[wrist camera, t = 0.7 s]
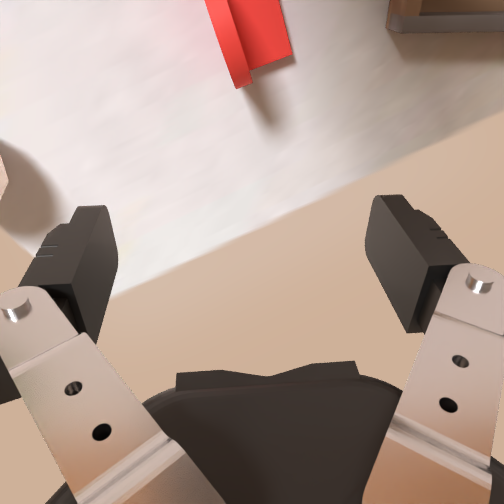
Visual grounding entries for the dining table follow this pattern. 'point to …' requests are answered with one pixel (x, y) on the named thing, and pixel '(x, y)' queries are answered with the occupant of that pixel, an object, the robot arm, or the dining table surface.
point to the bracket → (249, 35)
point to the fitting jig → (445, 16)
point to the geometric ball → (2, 178)
